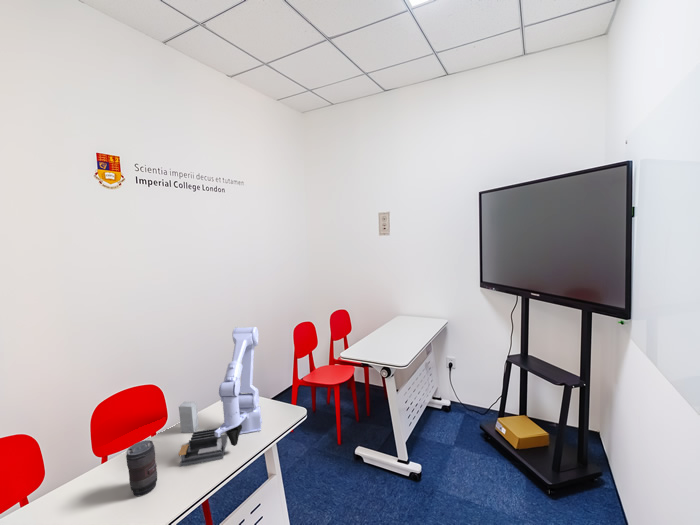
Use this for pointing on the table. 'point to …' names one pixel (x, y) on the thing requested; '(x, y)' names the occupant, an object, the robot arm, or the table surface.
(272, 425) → the table surface
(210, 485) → the table surface
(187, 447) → the heatsink
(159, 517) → the table surface
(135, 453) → the camera lens
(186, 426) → the skincare box
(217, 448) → the clip
